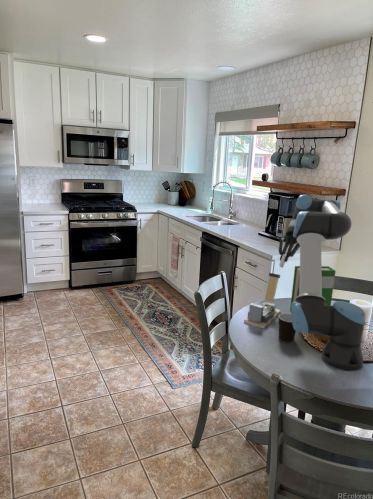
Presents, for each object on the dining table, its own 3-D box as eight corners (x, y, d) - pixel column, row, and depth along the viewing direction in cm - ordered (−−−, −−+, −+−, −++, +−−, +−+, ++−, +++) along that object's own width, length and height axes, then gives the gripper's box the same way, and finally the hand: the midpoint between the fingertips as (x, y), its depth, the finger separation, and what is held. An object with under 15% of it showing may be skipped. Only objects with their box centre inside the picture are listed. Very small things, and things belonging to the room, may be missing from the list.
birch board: (263, 328, 177) (264, 325, 177) (243, 322, 182) (244, 319, 182) (280, 312, 195) (280, 310, 195) (262, 308, 200) (262, 305, 200)
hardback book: (295, 316, 192) (300, 270, 186) (290, 310, 199) (295, 265, 193) (329, 316, 193) (335, 270, 187) (322, 310, 200) (328, 266, 194)
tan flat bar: (273, 302, 190) (279, 274, 191) (263, 299, 193) (269, 272, 193) (274, 302, 192) (280, 275, 193) (265, 300, 195) (271, 273, 195)
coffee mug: (291, 345, 162) (294, 323, 160) (272, 339, 167) (275, 317, 165) (302, 335, 171) (304, 315, 169) (283, 330, 176) (285, 309, 174)
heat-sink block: (263, 324, 177) (265, 308, 175) (245, 319, 182) (246, 303, 180) (278, 311, 193) (279, 296, 191) (261, 307, 198) (262, 292, 196)
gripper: (307, 235, 209) (294, 272, 200) (284, 232, 216) (270, 267, 207) (305, 227, 204) (292, 264, 194) (282, 224, 210) (267, 260, 201)
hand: (281, 266), depth 201 cm, fingers closed
